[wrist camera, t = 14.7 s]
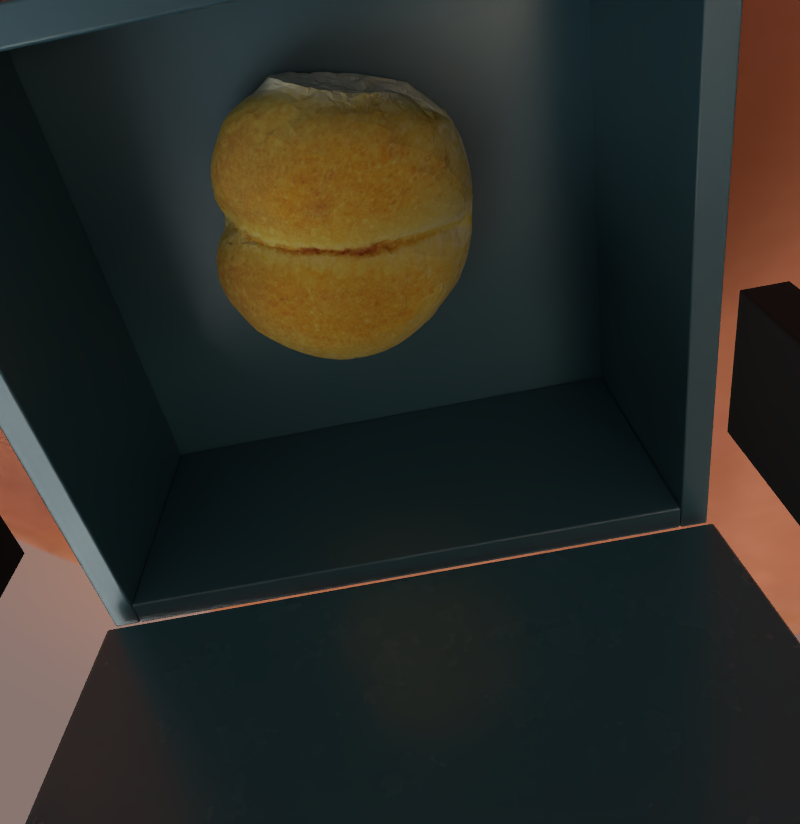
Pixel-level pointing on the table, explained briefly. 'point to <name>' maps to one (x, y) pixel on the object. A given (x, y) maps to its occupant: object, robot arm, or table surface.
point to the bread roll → (340, 211)
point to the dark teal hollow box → (386, 371)
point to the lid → (454, 701)
